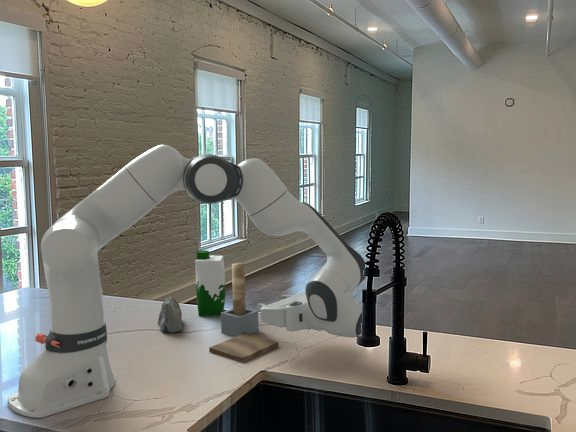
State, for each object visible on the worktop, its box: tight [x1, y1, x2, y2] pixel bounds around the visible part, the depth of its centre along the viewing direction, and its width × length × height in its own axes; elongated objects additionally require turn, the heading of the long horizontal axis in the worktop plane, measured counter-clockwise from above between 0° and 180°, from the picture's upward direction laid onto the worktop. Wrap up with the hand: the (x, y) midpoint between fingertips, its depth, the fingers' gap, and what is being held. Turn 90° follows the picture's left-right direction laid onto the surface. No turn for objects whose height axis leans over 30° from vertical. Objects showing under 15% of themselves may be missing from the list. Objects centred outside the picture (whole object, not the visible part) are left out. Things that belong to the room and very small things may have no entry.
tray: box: [208, 333, 279, 363], centre depth 152 cm, size 14×12×1 cm
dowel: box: [231, 262, 247, 316], centre depth 164 cm, size 4×4×20 cm
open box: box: [220, 307, 260, 338], centre depth 165 cm, size 8×8×6 cm
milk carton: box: [194, 249, 226, 317], centre depth 182 cm, size 9×9×20 cm
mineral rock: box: [157, 294, 183, 334], centre depth 170 cm, size 13×11×10 cm
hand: (270, 302), depth 156 cm, fingers open, 8 cm apart
